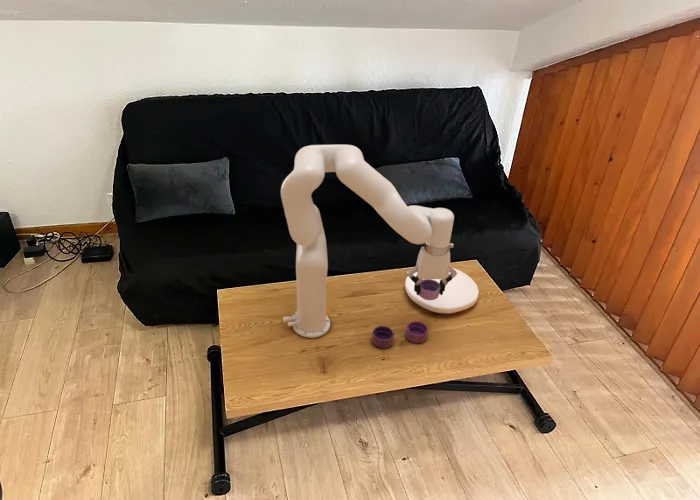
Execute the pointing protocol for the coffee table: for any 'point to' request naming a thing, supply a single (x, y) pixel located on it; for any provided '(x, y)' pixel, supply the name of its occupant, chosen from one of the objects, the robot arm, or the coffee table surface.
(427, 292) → the lilac dish
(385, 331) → the aubergine dish
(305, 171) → the robot arm
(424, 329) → the plum dish
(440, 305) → the plate
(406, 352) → the coffee table surface
